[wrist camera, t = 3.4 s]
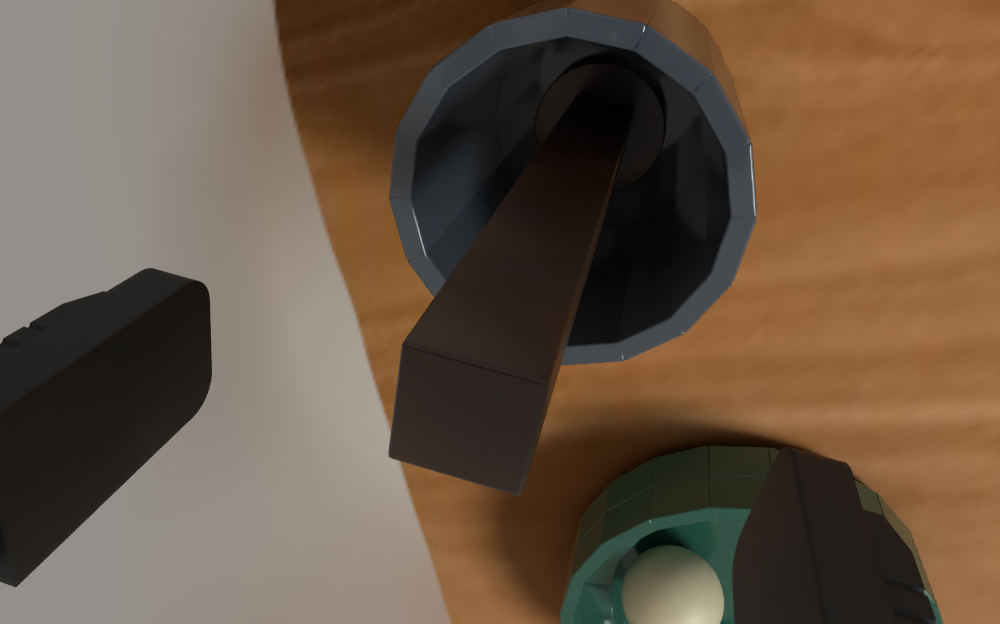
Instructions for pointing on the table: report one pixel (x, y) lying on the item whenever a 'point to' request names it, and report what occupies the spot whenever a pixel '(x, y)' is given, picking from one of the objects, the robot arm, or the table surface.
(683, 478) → the bowl
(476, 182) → the crock
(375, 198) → the table surface
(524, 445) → the dark brown wooden bar
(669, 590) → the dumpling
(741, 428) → the table surface
